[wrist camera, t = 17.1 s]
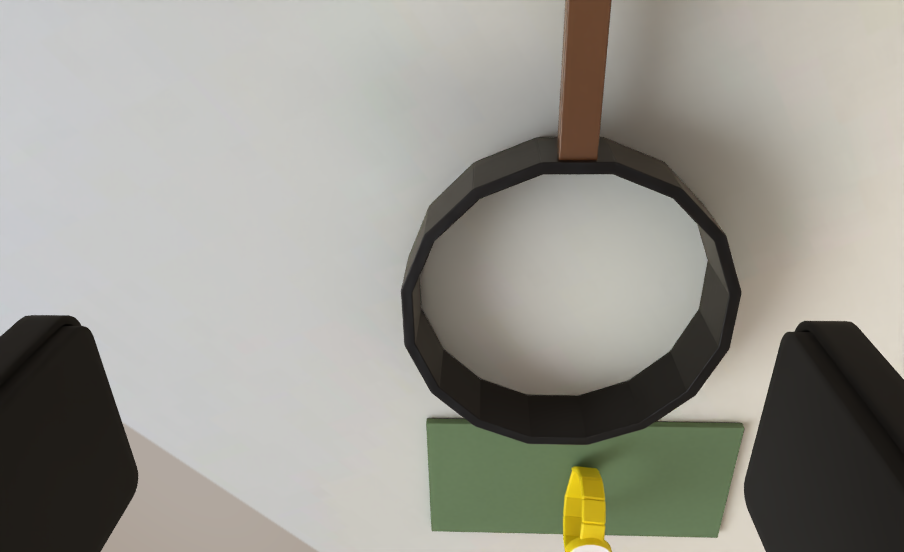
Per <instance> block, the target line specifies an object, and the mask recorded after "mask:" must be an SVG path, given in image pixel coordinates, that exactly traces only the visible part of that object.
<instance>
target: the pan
mask: <svg viewBox="0 0 904 552" xmlns="http://www.w3.org/2000/svg"><path fill="white" fill-rule="evenodd" d="M610 12H611V0H565V18H564V35H563V53H562V70H561V88H560V105H559V123H558V137H554V138H534V139H532V140H529V141H527V142H524V143H522V144H519V145H517V146H514V147H512V148H509V149H507V150H504V151H502V152H499V153H497V154H494V155H492V156H489V157H487V158H484V159H482V160H479V161H477V162H475V163H473V164H472V165H471V166H470V167H469V168H468V169H467V170H466V171H465V172H464V173H463V174H462V175H461V176H460V177H459V178H458V179H457V180H455V181H454V182H453V183H452V184H451V185H450V186H449V187H448V188H447V189H446V190H445V191H444V192H443V193H442V194H441V195H440V196H439V197H438V198H437V199H436V200H435V201H434V202H433V203H432V204H431V205H430V206H429V208H428V210H427V213H426V215H425V218H424V220H423V223H422V225H421V227H420V230H419V232H418V235H417V237H416V240H415V242H414V245H413V247H412V250H411V252H410V255H409V257H408V262H407V266H406V271H405V275H404V280H403V284H402V289H401V299H402V314H403V329H404V344H405V347H406V349H407V350H408V352H409V354H410V356H411V358H412V359H413V361H414V363H415V365H416V366H417V368H418V370H419V372H420V374H421V375H422V377H423V379H424V381H425V383H426V384H427V386H428V388H429V390H430V391H431V392H432V393H433V394H434V395H435V396H436V397H438V398H439V399H440V400H441V401H443V402H444V403H445V404H447V405H448V406H449V407H450V408H452V409H453V410H454V411H456V412H457V413H458V414H459V415H461V416H462V417H463V418H465V419H466V420H467V421H468V422H470V423H471V424H472V425H474V426H475V427H478V428H481V429H484V430H487V431H490V432H493V433H496V434H499V435H502V436H505V437H508V438H511V439H514V440H517V441H520V442H523V443H526V444H553V445H589V444H593V443H597V442H600V441H604V440H607V439H611V438H614V437H618V436H621V435H625V434H628V433H632V432H635V431H639V430H642V429H645V428H647V427H648V426H650V425H651V424H653V423H654V422H656V421H657V420H659V419H661V418H662V417H664V416H665V415H667V414H668V413H670V412H671V411H673V410H674V409H676V408H677V407H679V406H680V405H682V404H683V403H685V402H686V401H688V400H689V399H691V398H692V397H694V396H695V395H696V394H697V392H698V391H699V390H700V388H701V387H702V386H703V384H704V383H705V381H706V380H707V379H708V377H709V376H710V375H711V373H712V372H713V371H714V369H715V368H716V366H717V365H718V364H719V362H720V361H721V360H722V358H723V357H724V356H725V354H726V353H727V351H728V350H729V348H730V344H731V339H732V334H733V330H734V325H735V321H736V316H737V311H738V307H739V302H740V298H741V288H740V285H739V281H738V277H737V274H736V270H735V266H734V263H733V259H732V255H731V252H730V248H729V244H728V241H727V237H726V235H725V233H724V232H723V231H722V229H721V228H720V226H719V225H718V224H717V222H716V221H715V220H714V218H713V217H712V215H711V214H710V213H709V211H708V210H707V208H706V207H705V206H704V204H703V203H702V202H701V201H700V200H699V199H698V198H697V197H696V196H695V195H694V194H693V192H692V191H691V190H690V189H689V188H688V187H687V186H686V185H685V184H684V183H683V182H682V181H681V179H680V178H679V177H678V176H677V175H676V174H675V173H674V172H673V171H672V170H671V169H670V168H669V167H668V165H667V164H666V163H665V162H663V161H661V160H658V159H656V158H653V157H651V156H649V155H646V154H644V153H641V152H639V151H636V150H634V149H631V148H629V147H627V146H624V145H622V144H619V143H617V142H614V141H612V140H609V139H607V138H604V137H600V125H601V114H602V103H603V91H604V80H605V69H606V57H607V46H608V34H609V23H610ZM542 174H614V175H616V176H619V177H621V178H624V179H626V180H629V181H631V182H634V183H636V184H639V185H641V186H644V187H646V188H649V189H651V190H654V191H656V192H659V193H661V194H664V195H666V196H669V197H671V198H673V199H674V200H675V201H676V202H677V203H678V204H679V205H680V206H681V207H682V208H683V209H684V210H685V211H686V212H687V213H688V215H689V216H690V217H691V218H692V219H693V220H694V221H695V222H696V223H697V224H698V228H699V231H700V235H701V238H702V241H703V245H704V248H705V252H706V255H707V259H708V263H707V269H706V274H705V280H704V285H703V290H702V296H701V301H700V307H699V310H698V311H697V313H696V314H695V316H694V317H693V319H692V320H691V322H690V323H689V325H688V326H687V328H686V329H685V331H684V332H683V334H682V335H681V336H680V338H679V339H678V341H677V342H676V344H675V345H674V347H673V348H672V350H671V351H670V352H669V353H667V354H666V355H665V356H663V357H662V358H660V359H659V360H658V361H656V362H655V363H653V364H652V365H650V366H649V367H648V368H646V369H645V370H643V371H642V372H640V373H639V374H638V375H636V376H635V377H633V378H632V379H631V380H629V381H627V382H624V383H620V384H617V385H614V386H610V387H607V388H604V389H600V390H597V391H594V392H591V393H587V394H584V395H581V396H530V395H525V394H522V393H519V392H516V391H513V390H510V389H507V388H504V387H502V386H499V385H496V384H493V383H490V382H487V381H484V380H481V379H479V378H478V377H477V376H476V375H474V374H473V373H472V372H471V371H469V370H468V369H467V368H466V367H465V366H463V365H462V364H461V363H460V362H458V361H457V360H456V359H455V358H453V357H452V356H451V355H450V354H449V353H447V352H446V351H445V350H444V349H443V348H442V346H441V344H440V342H439V340H438V338H437V337H436V335H435V333H434V331H433V329H432V327H431V325H430V323H429V321H428V320H427V318H426V316H425V314H424V312H423V310H422V308H421V292H420V274H421V272H422V269H423V267H424V265H425V262H426V260H427V257H428V255H429V253H430V250H431V248H432V246H433V243H434V241H435V240H436V239H437V238H438V237H439V236H441V235H442V234H443V233H444V232H445V231H446V230H447V229H448V228H449V227H450V226H451V225H452V224H453V223H455V222H456V221H457V220H458V219H459V218H460V217H461V216H462V215H463V214H464V213H465V212H466V211H467V210H468V209H470V208H471V207H472V206H473V205H474V204H475V203H476V202H477V201H478V200H479V199H480V198H483V197H486V196H488V195H491V194H493V193H496V192H499V191H501V190H504V189H506V188H509V187H511V186H514V185H517V184H519V183H522V182H524V181H527V180H530V179H532V178H535V177H537V176H540V175H542Z"/></svg>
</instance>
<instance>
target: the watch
mask: <svg viewBox="0 0 904 552" xmlns="http://www.w3.org/2000/svg"><path fill="white" fill-rule="evenodd" d="M571 470H572V472H571V475H570V479H569V483H568V486H567V490H566V493H565V496H564V508H563V515H564V516H563V536H564V537H563V540H564V548H565V552H612V550H611V547H610V545H609V543H608V542H606V541H605V540H604V535H605V525H604V524H605V523H606V502H605V493H604V486H603V482H602V478H601V475H600V473H599V471H598V469H597V468H588V467H578V466H576V467H573V468H572V469H571Z"/></svg>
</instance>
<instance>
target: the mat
mask: <svg viewBox="0 0 904 552" xmlns="http://www.w3.org/2000/svg"><path fill="white" fill-rule="evenodd" d="M426 427H427V447H428V467H429V487H430V507H431V527H432V531H449V532H493V533H536V534H563V516H564V515H563V508H564V496H565V493H566V490H567V486H568V483H569V479H570V475H571V472H572V470H571V469H572V468H573V467H576V466H578V467H588V468H597V469H598V471H599V473H600V475H601V478H602V482H603V486H604V493H605V502H606V523H605V524H604V525H605V535H623V536H667V537H710V538H717V537H718V533H719V529H720V525H721V521H722V517H723V513H724V509H725V505H726V501H727V497H728V493H729V488H730V484H731V480H732V476H733V472H734V468H735V464H736V460H737V456H738V452H739V448H740V444H741V440H742V436H743V432H744V426H743V424H742V423H701V422H654V423H653V424H651V425H650V426H648V427H647V428H645V429H642V430H639V431H635V432H632V433H628V434H625V435H621V436H618V437H614V438H611V439H607V440H604V441H600V442H597V443H593V444H589V445H553V444H526V443H523V442H520V441H517V440H514V439H511V438H508V437H505V436H502V435H499V434H496V433H493V432H490V431H487V430H484V429H481V428H478V427H475V426H474V425H472V424H471V423H470V422H468V421H467V420H466V419H430V418H428V419H427V422H426Z"/></svg>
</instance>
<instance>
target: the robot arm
mask: <svg viewBox="0 0 904 552" xmlns="http://www.w3.org/2000/svg"><path fill="white" fill-rule="evenodd" d="M137 483H138V470H137V466H136V463H135V460H134V457H133V454H132V451H131V448H130V445H129V442H128V439H127V436H126V433H125V430H124V427H123V424H122V421H121V418H120V415H119V412H118V409H117V406H116V403H115V400H114V397H113V394H112V391H111V388H110V385H109V382H108V379H107V376H106V373H105V370H104V367H103V364H102V361H101V358H100V355H99V352H98V349H97V346H96V343H95V340H94V337H93V335H92V333H91V331H90V330H89V329H88V328H87V327H84V326H81V324H80V322H79V321H78V320H77V319H76V318H74V317H72V316H57V315H31V316H25V317H23V318H22V319H20V320H19V321H17V322H16V323H15V324H14V325H13V326H12V327H11V328H10V329H8V330H7V331H6V332H5V333H4V334H3V335H2V336H1V337H0V552H100V551H101V550H102V548H103V546H104V545H105V543H106V541H107V540H108V538H109V536H110V535H111V533H112V531H113V530H114V528H115V526H116V524H117V523H118V521H119V520H120V518H121V516H122V514H123V513H124V511H125V510H126V508H127V506H128V504H129V503H130V501H131V499H132V498H133V496H134V493H135V491H136V488H137ZM744 495H745V501H746V505H747V508H748V511H749V513H750V516H751V518H752V520H753V523H754V525H755V527H756V530H757V532H758V534H759V537H760V539H761V541H762V544H763V546H764V548H765V551H766V552H904V379H903V378H902V377H901V376H900V375H899V374H898V373H897V371H896V370H895V369H894V368H893V367H892V366H891V365H890V363H889V362H888V361H887V360H886V359H885V358H884V357H883V355H882V354H881V353H880V352H879V351H878V350H877V349H876V347H875V346H874V345H873V344H872V343H871V342H870V341H869V339H868V338H867V337H866V336H865V335H864V334H863V333H862V331H861V330H860V329H859V328H858V327H857V326H856V325H855V324H853V323H852V322H847V321H804V322H801V323H800V324H799V325H798V326H797V328H796V330H795V332H787V333H785V335H784V336H783V337H782V340H781V343H780V347H779V350H778V354H777V358H776V362H775V366H774V370H773V373H772V377H771V381H770V385H769V389H768V393H767V396H766V400H765V404H764V408H763V412H762V416H761V420H760V423H759V427H758V431H757V435H756V439H755V443H754V446H753V450H752V454H751V458H750V462H749V466H748V469H747V473H746V477H745V482H744Z"/></svg>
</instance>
